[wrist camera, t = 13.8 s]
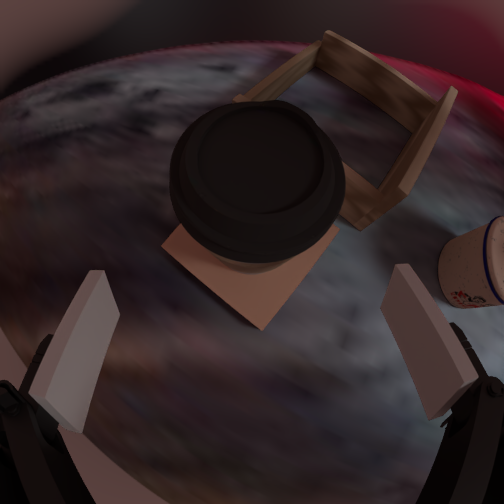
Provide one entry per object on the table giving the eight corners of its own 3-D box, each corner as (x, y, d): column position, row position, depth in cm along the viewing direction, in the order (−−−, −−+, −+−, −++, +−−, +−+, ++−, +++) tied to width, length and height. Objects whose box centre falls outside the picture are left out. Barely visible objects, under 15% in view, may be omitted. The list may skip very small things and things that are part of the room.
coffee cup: (262, 307, 26) (288, 298, 11) (181, 248, 27) (118, 174, 12) (317, 227, 27) (386, 142, 13) (240, 175, 28) (239, 58, 14)
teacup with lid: (434, 311, 28) (509, 304, 16) (432, 232, 29) (499, 198, 18) (496, 309, 28) (561, 301, 16) (493, 242, 30) (553, 218, 18)
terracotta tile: (335, 233, 29) (340, 229, 27) (260, 330, 27) (261, 330, 25) (243, 163, 30) (243, 156, 29) (164, 249, 28) (160, 246, 27)
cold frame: (420, 134, 32) (458, 91, 22) (360, 231, 29) (408, 195, 19) (312, 59, 34) (327, 6, 24) (226, 132, 31) (222, 69, 21)
